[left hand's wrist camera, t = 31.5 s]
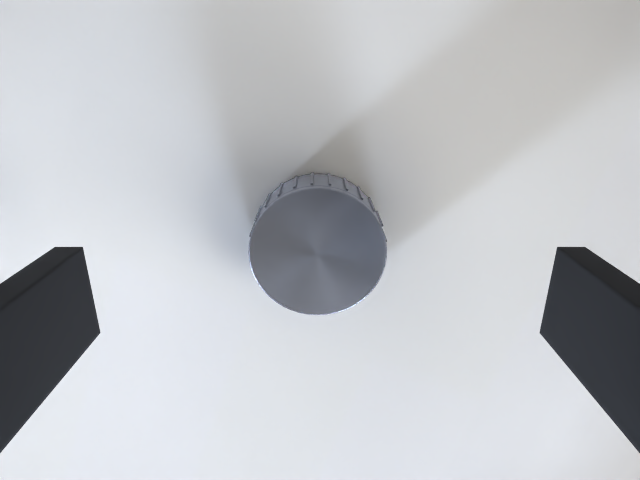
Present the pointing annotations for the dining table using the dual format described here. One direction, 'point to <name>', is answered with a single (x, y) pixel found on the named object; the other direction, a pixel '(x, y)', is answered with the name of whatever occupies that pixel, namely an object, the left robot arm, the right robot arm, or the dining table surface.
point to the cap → (317, 245)
